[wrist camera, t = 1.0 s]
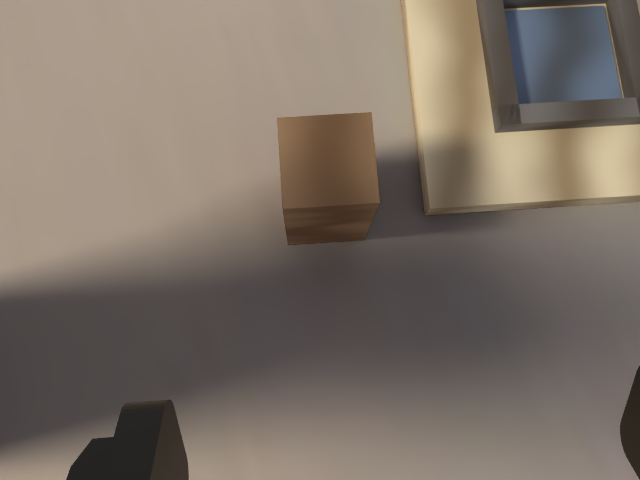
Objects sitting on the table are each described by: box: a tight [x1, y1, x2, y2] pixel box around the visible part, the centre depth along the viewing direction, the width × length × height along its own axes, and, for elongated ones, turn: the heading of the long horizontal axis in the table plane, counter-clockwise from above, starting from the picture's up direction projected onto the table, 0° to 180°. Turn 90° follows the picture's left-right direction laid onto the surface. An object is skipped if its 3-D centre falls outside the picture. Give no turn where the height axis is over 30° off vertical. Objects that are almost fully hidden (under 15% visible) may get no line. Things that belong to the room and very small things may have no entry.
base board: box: [401, 0, 640, 215], centre depth 37 cm, size 18×18×3 cm
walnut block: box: [277, 112, 380, 245], centre depth 32 cm, size 4×4×8 cm
